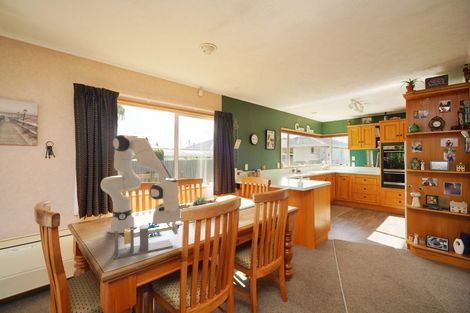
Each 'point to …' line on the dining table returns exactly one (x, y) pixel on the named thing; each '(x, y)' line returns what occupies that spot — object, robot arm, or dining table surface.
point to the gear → (152, 227)
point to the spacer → (127, 236)
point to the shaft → (160, 229)
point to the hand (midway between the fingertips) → (171, 229)
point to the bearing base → (143, 246)
